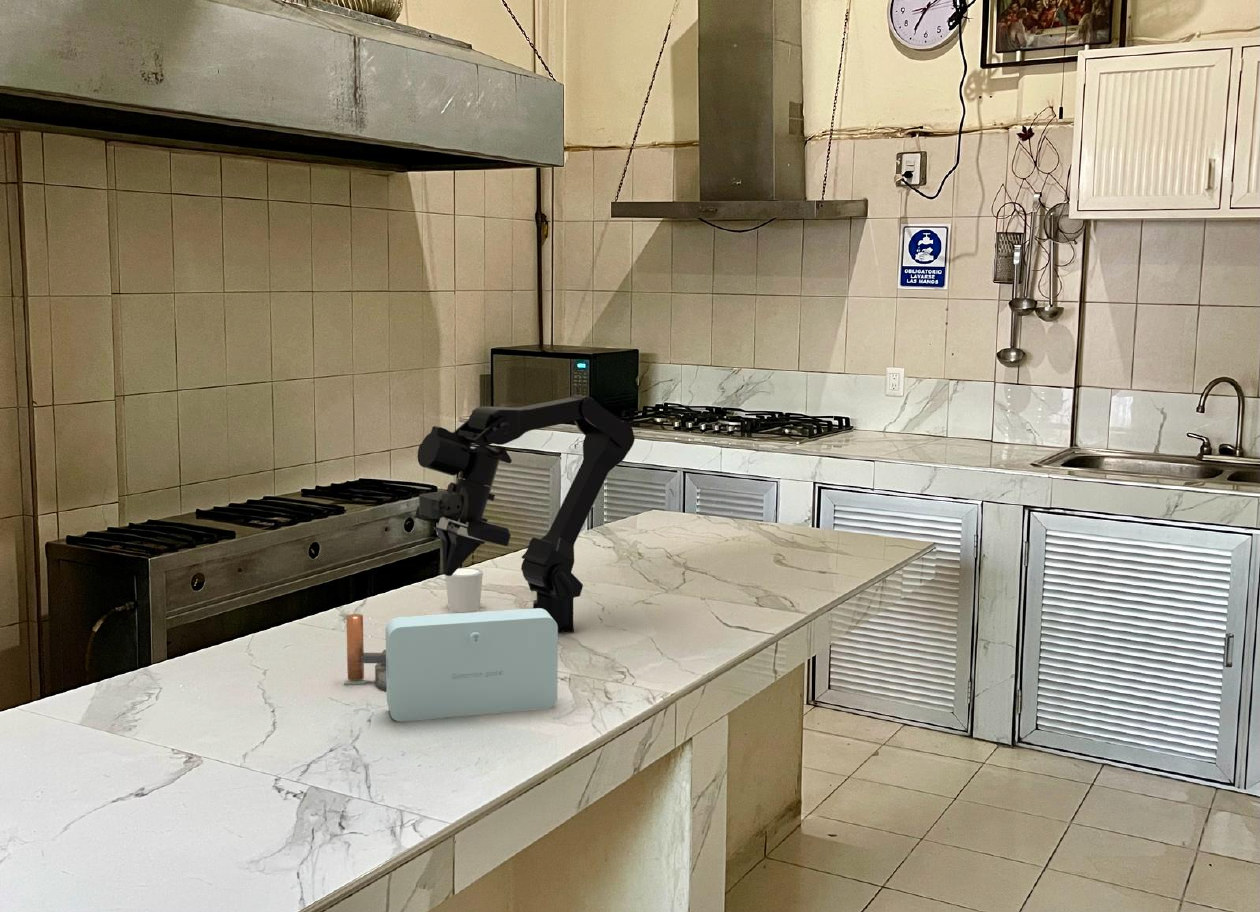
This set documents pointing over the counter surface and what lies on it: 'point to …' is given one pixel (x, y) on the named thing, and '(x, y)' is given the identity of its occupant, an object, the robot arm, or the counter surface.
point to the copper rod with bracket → (359, 649)
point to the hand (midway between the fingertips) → (447, 575)
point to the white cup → (464, 590)
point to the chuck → (380, 677)
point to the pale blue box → (471, 663)
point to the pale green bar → (354, 682)
